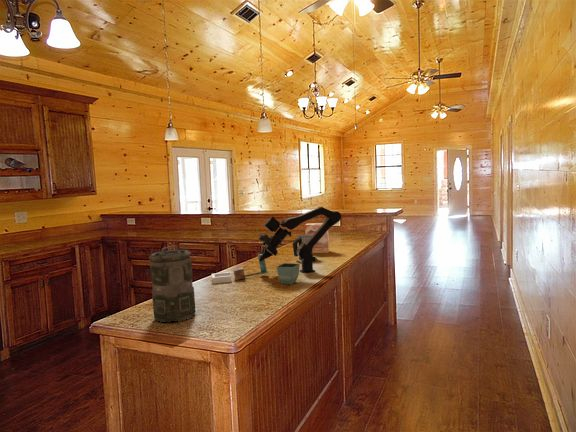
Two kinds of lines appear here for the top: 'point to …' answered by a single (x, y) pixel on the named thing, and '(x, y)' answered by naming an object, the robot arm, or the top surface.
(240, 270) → the tethered block
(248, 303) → the top surface
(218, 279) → the lane
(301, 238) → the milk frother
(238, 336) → the top surface
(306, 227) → the coffeecake box
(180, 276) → the canister
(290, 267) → the flower pot
